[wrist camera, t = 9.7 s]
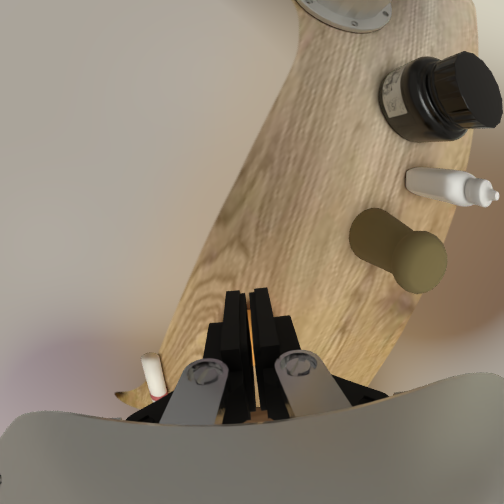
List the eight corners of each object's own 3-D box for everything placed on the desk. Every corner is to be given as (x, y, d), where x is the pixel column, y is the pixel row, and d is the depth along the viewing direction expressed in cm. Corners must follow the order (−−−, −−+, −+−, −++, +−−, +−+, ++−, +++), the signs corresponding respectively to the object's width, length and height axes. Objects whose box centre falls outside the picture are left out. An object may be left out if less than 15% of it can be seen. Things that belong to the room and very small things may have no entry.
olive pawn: (359, 270, 29) (409, 318, 19) (340, 223, 28) (392, 255, 17) (401, 245, 29) (460, 281, 18) (385, 198, 27) (450, 218, 17)
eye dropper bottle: (428, 209, 28) (500, 234, 16) (398, 183, 27) (474, 198, 15) (442, 180, 26) (515, 194, 15) (413, 152, 25) (489, 154, 14)
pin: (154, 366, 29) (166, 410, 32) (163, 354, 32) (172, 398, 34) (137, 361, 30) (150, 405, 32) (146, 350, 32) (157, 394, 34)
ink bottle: (399, 56, 22) (462, 23, 10) (447, 108, 24) (515, 99, 12) (361, 105, 24) (428, 78, 13) (415, 160, 26) (490, 166, 14)
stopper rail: (230, 409, 35) (229, 424, 32) (298, 402, 35) (301, 417, 32) (232, 417, 36) (231, 432, 33) (298, 410, 36) (301, 424, 33)
